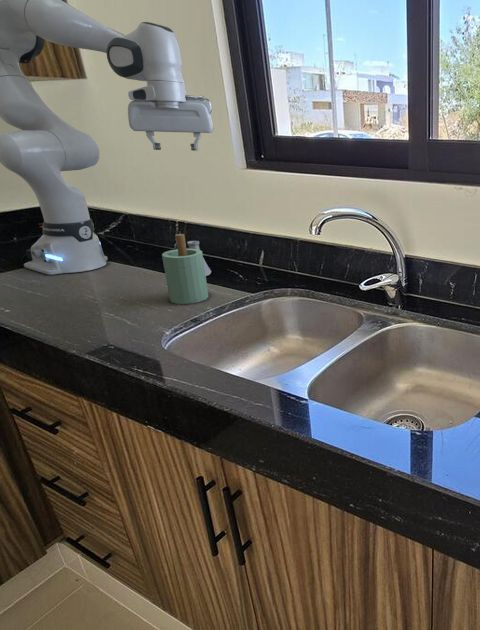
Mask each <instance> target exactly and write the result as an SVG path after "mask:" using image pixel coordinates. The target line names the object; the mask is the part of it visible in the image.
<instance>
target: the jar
mask: <svg viewBox="0 0 480 630" xmlns="http://www.w3.org/2000/svg"><path fill="white" fill-rule="evenodd" d="M186 250H187V256H178V250H177V248H176V249H171V250H167V251H164V252H163V253H161V258H162V263H163V264H162V265H163V269H164V274H165V280H166V286H167V292H168V297H169V300H170V302H171V303H172V304H177V305H191V304H196V303H197V304H198V303H200V302H204V301H205V300H207V299H208V298H209V290H208V283H207V276H206V275H205V268H204V261H203V258H204V254H203V250H201V249H200V250H198V249H189V248H186Z"/></svg>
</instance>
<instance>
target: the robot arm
mask: <svg viewBox="0 0 480 630" xmlns="http://www.w3.org/2000/svg"><path fill="white" fill-rule="evenodd" d="M46 41H47V42H50V43H52V44H56V45H60V46H63V47H68V48H75V49H82V50H88V51H94V52H101V53H104V54H106V59H107V63H108V64H109V66H110V68H111V70H112V71H113V72H114V73H115V74H116V75H117V76H119V77H121V78H124V79H127V80H133V81H140V82H145V83H146V85H145V86H142V87H139V88H135V89H132V90H129V91H128V92H127V94H128V95H127V96H128V98H129V100H130V101H129V103H128V105H127V118H128V119H127V120H128V126H129V128H130V129H131V131H134V132H145V135H146V137H147V139H148V140H149V141H150V142H151V144H152V149H153V151H161V150H162V146H161V142H157V140H156V139H155V138H154V136H155V132H156V133H157V132H158V133H159V132H160V133H191V134H193V135H192V136H193V137H194V139H195V140H194V142H193V143H190V151H194V152H195V151H197V152H198V151H199V146H198V144H199V143H200V141H201V137H202V134H211V133H213V132H214V123H213V119H212V115H211V113H212V110H213V108H212V103H211V101H210V99H209V98H206V97H205V96H203V95H190V94H189V95H187V91H186V83H185V80H184V78H183V74H182V66H183V62H182V55H181V51H180V50H181V49H180V46H179V42H178V38H177V36H176V34H175V32H174V31H173V29H171V28H170V27H168V26H165V25H161V24H157V23H154V22H150V21H143V22H140V23H139V24H138V26H137V27H136V29H134V30H132V31H131V32H130V33H127V34H124V33H121V32H119V31H117V30H115V29H113V28H110V27H108V26H106V25H104V24H103V23H101V22H99V21H97V20H96V19H94V18H93V17H91V16H89V15H87V14H85V13H84V12H82V11H80V10H79V9H77V8H75V7H73V6H72V5H71V4H69V3H67V2H65V1H64V0H0V118H1V120H3V121H4V122H5V123H6V124H7V125H9V126H11V127H14V128H16V129H19V130H14V131H9V132H4V133H0V164H1V165H2V166H3V167H4V168H5V169H7V170H8V171H10V172H12V173H14V174H15V175H17V176H19V177H20V178H21V179H23V181H25V183H27V185H28V186H29V187H30V188H31V190H32V191H33V193H34V194H35V196H36V199H37V202H38V205H39V208H40V211H41V214H42V219H43V222H41V223H38V225H39V228H42V235H41V236H40V237H39V238H38V239H37V240H36V242H34V243H33V244H32V245H31V247H30V248H29V249H26V250H25V253H24V254H23V255H22V257H21V262H25V260H26V258H27V259H28V260H29V261H27V262H25V263H23V267H24V268H26V269H28V270H33V271H35V272H38V273H41V274H45V275H49V276H50V275H58V274H59V275H60V274H71V273H82V272H88V271H92V270H97V269H100V268H103V267H104V266H106V265H107V264H108V263H107V261H108V260H109V258H108V256H106V255H105V254H104V251H103V248H102V244H101V241H100V239H99V237H98V235H97V234H96V233H95V227H94V226H95V225H94V221H93V219H92V218H91V217H90V212H89V208H88V203H87V200H86V196H85V194H84V193H83V191H82V190H80V189H79V188H78V187H76V186H73V185H71V184H69V183H67V182H66V180H65V179H64V177H63V175H62V172H71V171H81V170H85V169H87V168H90V167H94V166H95V165H96V164H98V162H99V159H100V149H99V146H98V144H97V143H96V141H95V140H94V138H93V137H91V136H90V135H89V134H87V133H85V132H83V131H81V130H78V129H77V128H75V127H73V126H71V125H70V124H69V123H67V122H66V121H64V119H62V117H59V116H58V115H57V114H56V113H55V112H54V111H53V110H51V109H50V107H49V106H48V105H47V104H46V103H45V102H44V100H43V99H42V98H41V96H40V95H39V94H38V92H37V90H36V89H35V88H34V86H33V85H32V83H31V82H30V81H29V79H28V78H27V76H26V75H25V73H24V72H23V70H22V69H21V67H20V64H29V63H31V61H32V60H33V59H35V58H37V57H38V56H39V55H40V54H41V52H43V49H44V47H45V44H46Z"/></svg>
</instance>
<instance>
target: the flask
mask: <svg viewBox="0 0 480 630" xmlns="http://www.w3.org/2000/svg"><path fill="white" fill-rule="evenodd" d="M186 245H187V246H188V249H198V250H201V249H200V241H199V240H189V241H187V242H186ZM203 261H204V268H205V275H206V277H207V276H210V275H211V273H212V270H211V268H210V267H209V266H208V265H209V264H207V261H206V260H205V258H204V257H203Z"/></svg>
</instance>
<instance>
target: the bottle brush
mask: <svg viewBox="0 0 480 630" xmlns="http://www.w3.org/2000/svg"><path fill="white" fill-rule="evenodd" d="M174 236H175V243H176V249H177V250H178V256H187V250H186V249H187V242H186V237H185V234H184V233H177V234H175V235H174Z"/></svg>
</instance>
